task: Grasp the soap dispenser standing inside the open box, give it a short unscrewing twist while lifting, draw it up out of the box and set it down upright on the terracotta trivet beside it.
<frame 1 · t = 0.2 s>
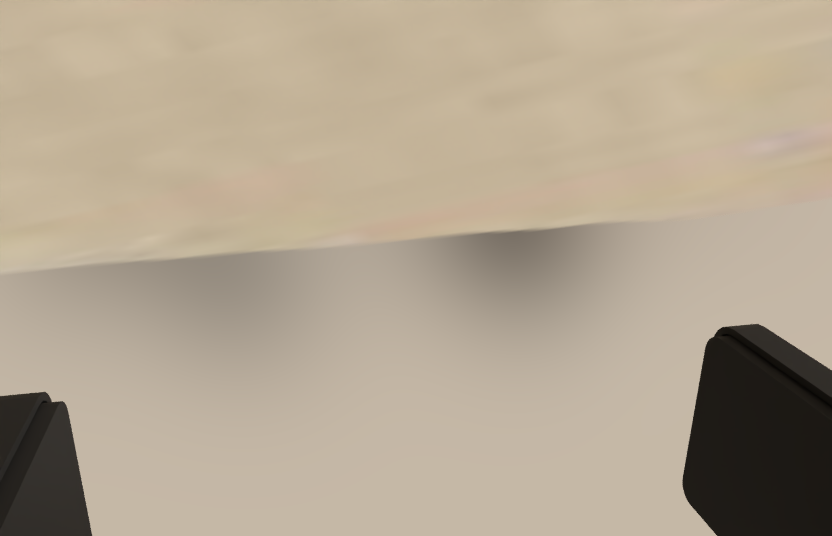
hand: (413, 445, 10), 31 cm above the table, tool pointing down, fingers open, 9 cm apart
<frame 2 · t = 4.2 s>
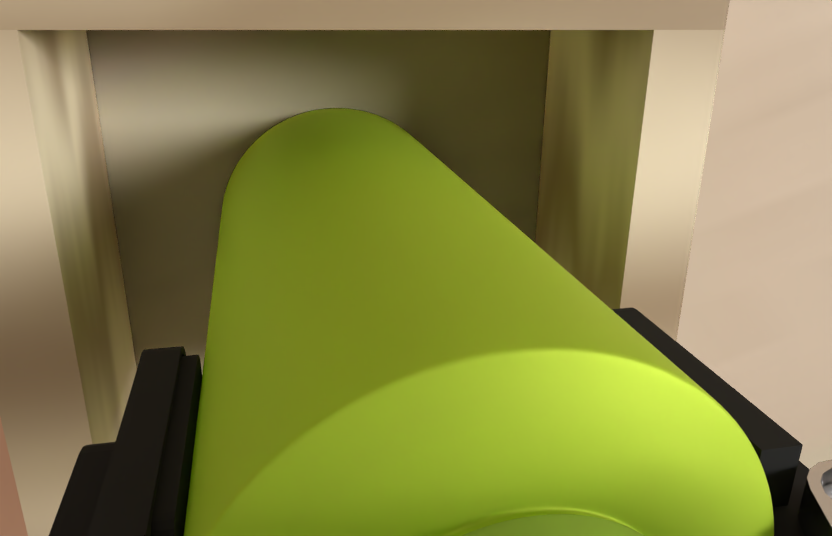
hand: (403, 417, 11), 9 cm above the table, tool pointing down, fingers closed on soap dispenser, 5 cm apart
soap dispenser: (338, 237, 19), resting in open box, touching gripper
open box: (340, 240, 19), on the table
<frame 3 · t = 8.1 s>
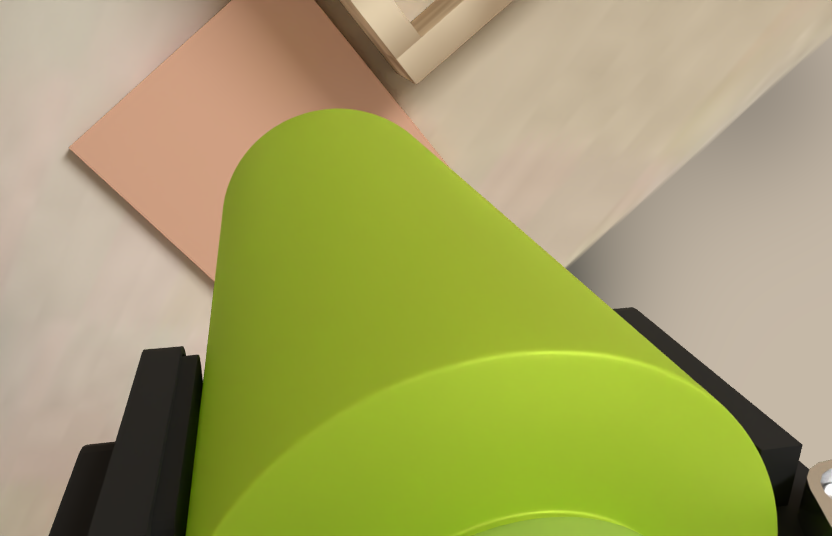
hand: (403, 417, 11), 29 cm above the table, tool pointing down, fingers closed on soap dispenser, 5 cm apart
soap dispenser: (339, 238, 19), point 20 cm above the table, touching gripper
trivet: (271, 157, 38), on the table
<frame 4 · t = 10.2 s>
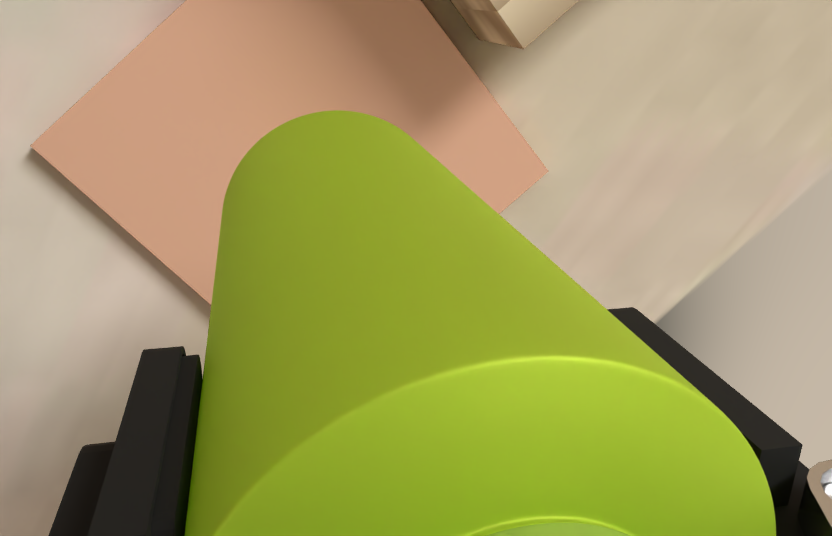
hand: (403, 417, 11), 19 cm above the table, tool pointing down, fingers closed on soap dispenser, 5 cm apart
soap dispenser: (339, 239, 19), point 10 cm above the table, touching gripper
trivet: (309, 156, 28), on the table
when the fingers open (10 cm above the table, at t = 12.2 s): soap dispenser drops 1 cm, resting on trivet.
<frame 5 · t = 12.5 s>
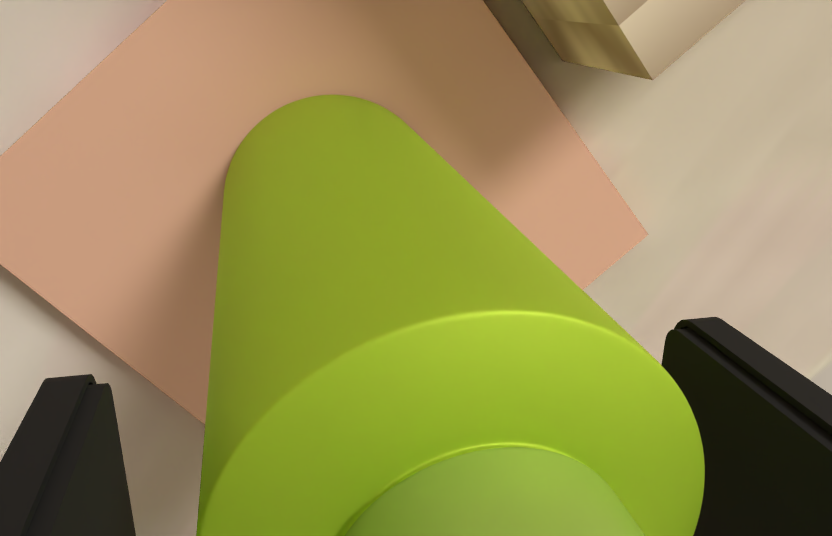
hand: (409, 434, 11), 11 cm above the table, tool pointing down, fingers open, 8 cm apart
soap dispenser: (334, 217, 20), resting on trivet
trivet: (331, 219, 21), on the table
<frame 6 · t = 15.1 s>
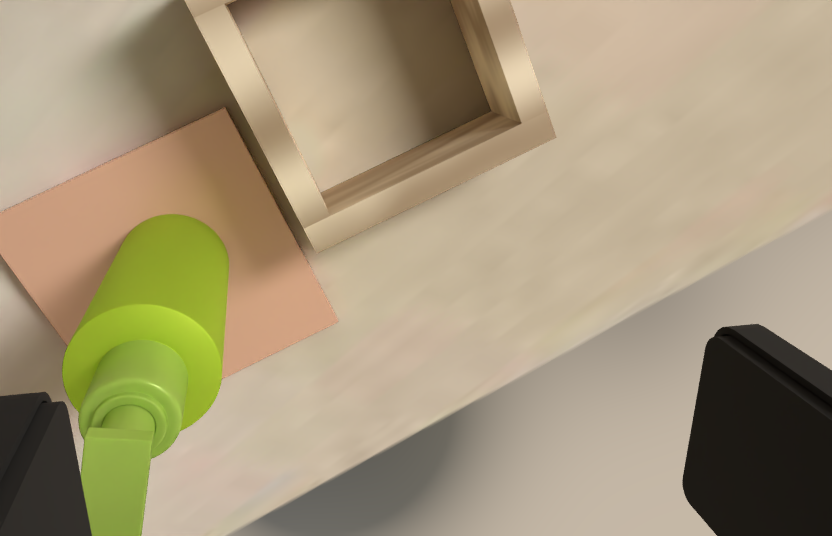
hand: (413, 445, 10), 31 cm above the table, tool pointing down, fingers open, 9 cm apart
soap dispenser: (174, 272, 40), resting on trivet
trivet: (173, 273, 40), on the table
open box: (367, 61, 39), on the table
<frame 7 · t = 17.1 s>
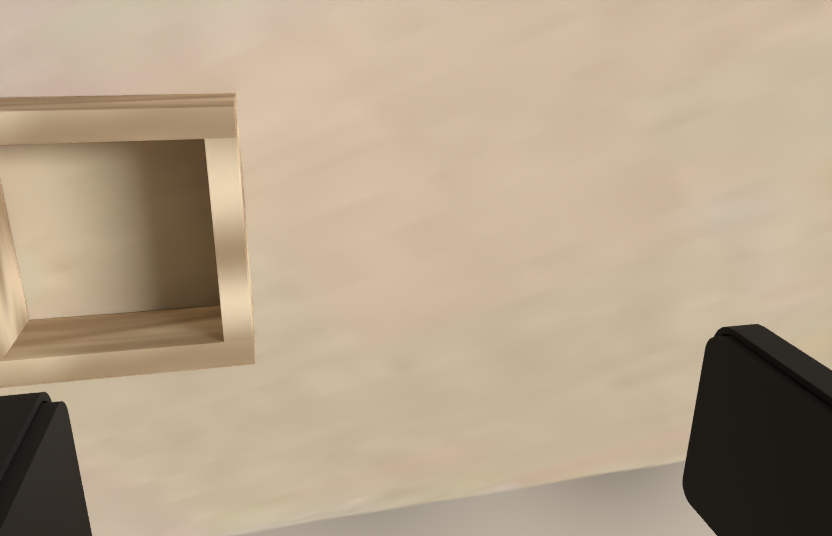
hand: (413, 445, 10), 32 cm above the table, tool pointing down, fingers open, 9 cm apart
open box: (117, 223, 40), on the table
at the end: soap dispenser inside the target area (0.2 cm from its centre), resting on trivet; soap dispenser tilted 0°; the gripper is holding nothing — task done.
